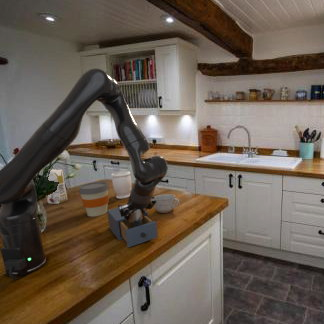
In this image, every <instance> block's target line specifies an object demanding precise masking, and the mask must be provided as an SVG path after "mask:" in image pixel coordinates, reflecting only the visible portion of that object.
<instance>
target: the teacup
mask: <svg viewBox="0 0 324 324" xmlns="http://www.w3.org/2000/svg"><path fill="white" fill-rule="evenodd" d="M154 197H155V200H156V204H155V205H154V206H153V207H154V210H155V211H157V212H158V213H161V214H167V213H170V212H172V211H173V210H174V209H176V208H177V207H178V206H179V205H180V199H179V198H177V197H176V195H175V194H173V193H172V194H171V193H163V194H158V195H155V196H154Z"/></svg>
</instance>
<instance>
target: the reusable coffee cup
mask: <svg viewBox="0 0 324 324" xmlns="http://www.w3.org/2000/svg"><path fill="white" fill-rule="evenodd" d="M78 189H79V195H80V196H81V197H80V199H81V203H82V205H83V208H84V209H85V212H86V215H87V216H88V217H99V216H102V215H105V214H106V213H107V210H108V205H109V204H108V203H109V199H110V197H109V184H108V182H105V181H93V182H89V183H84V184H81V185H80V186H79V188H78ZM107 214H108V213H107Z"/></svg>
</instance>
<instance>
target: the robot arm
mask: <svg viewBox="0 0 324 324" xmlns="http://www.w3.org/2000/svg"><path fill="white" fill-rule="evenodd" d="M95 102H99V103H101V104H102V105H103V106H104V108H105V109H106V110H107V112H108V113H109V114H110V116H111V119H112V120H113V124H114V128H115V132H116V134H117V137H118V140H119V141H120V143H121V144H122V146H123V147H124V149H125V151H126V153H127V155H128V159H129V161H130V162H129V163H130V165H131V170H132V174H133V177H134V178H135V180H134V183H133V186H131V192H130V196H129V197H128V199H127V200H128V201H127V202H126V204H125V205H122V204H118V205H117V208H119V211H120V214H121V217H123V216H124V218H125V219H126V220H127V219H129V216H130V214H132V213H133V212H134V211H136V210H138V209H142V215H143V214H144V213H145V211H147V212H148V210H152V209H153V207H154V205H155V204H156V200H155V196H154V192H155V190H156V187H157V186H158V185H159V184H160V183H161V181H162V180H163V179H164V178H165V177H166V176H167V173H168V169H169V165H168V161H167V160H166V158H164V157H162V156H160V155H154V156H150V157H148V158H145V159H143V158H142V156H143V155H144V154H146V153H147V152H149V151H150V148H151V145H150V142H149V141H148V140H147V137H146V136H145V135H144V133H143V131H142V129H141V128H140V126H139V125H138V123H137V122H136V120H135V118H134V116H133V114H132V112H131V110H130V107H129V105H128V104H127V101H126V98H125V95H124V93H123V90H122V88H121V86H120V84H119V82H118V80H116V79H115V78H114V77H112V75H110V74H109V73H108V72H106V71H105V70H103V69H101V68H96V67H95V68H90V69H88V70H86V71H85V72H84V73H83V74H82V75H81V76H80V77H79V78H78V79H77V81H76V83H74V85H73V87H72V88H71V89H70V91H69V92H68V94H67V95H66V96H65V98H64V99H63V100H62V101H61V103H60V104H59V105H58V106H57V107H56V108H55V109H54V111H53V112H52V113H51V114H50V115H49V116H48V117H47V118H46V119H45V120H44V121H43V122H42V124H41V125H40V126H38V128H37V129H36V130H35V131H34V132H33V134H32V135H31V136H30V137H29V138H28V139H27V141H26V142H25V143H24V144H23V145H22V146H21V148H20V149H19V150H18V152H16V154H15V156H14V157H12V159H11V160H10V161H8V162H7V163H6V164H5V165H4V166H2V168H1V169H0V205H1V207H0V237H1V242H2V247H1V248H0V253H1V258H2V262H3V266H4V271H5V275H6V276H9V277H10V278H11V279H13V280H15V281H16V280H18V277H17V276H26V275H27V274H30V273H32V272H35V271H37V270H39V269H41V268H42V267H43V266H44V265H45V264H47V258H46V254H45V249H44V245H43V240H42V234H41V230H40V224H39V219H38V214H37V213H38V212H37V208H38V198H37V189H36V185H35V182H34V178H35V177H36V176H37V175H38V173H39V172H40V171H42V170H43V169H44V168H45V167H47V166H48V165H50V164H51V163H53V161H54V160H56V159H57V158H58V157H59V156H61V155H62V154H63V153H64V152H65V151H66V150H67V149H68V148H69V147H70V145H71V144H72V143H73V142H75V140H76V139H77V138H78V135H79V134H80V130H81V128H82V127H81V126H82V121H83V119H84V116H85V114H86V112H87V111H88V110H89V108H90V107H91V106H92V105H94V103H95Z"/></svg>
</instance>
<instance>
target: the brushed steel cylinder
mask: <svg viewBox="0 0 324 324" xmlns="http://www.w3.org/2000/svg"><path fill="white" fill-rule="evenodd" d="M140 225H143V215H142V209H138V210H136V211H134V212H133V213H132V214H130V216H129V226H130V228H134V227H137V226H140Z"/></svg>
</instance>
